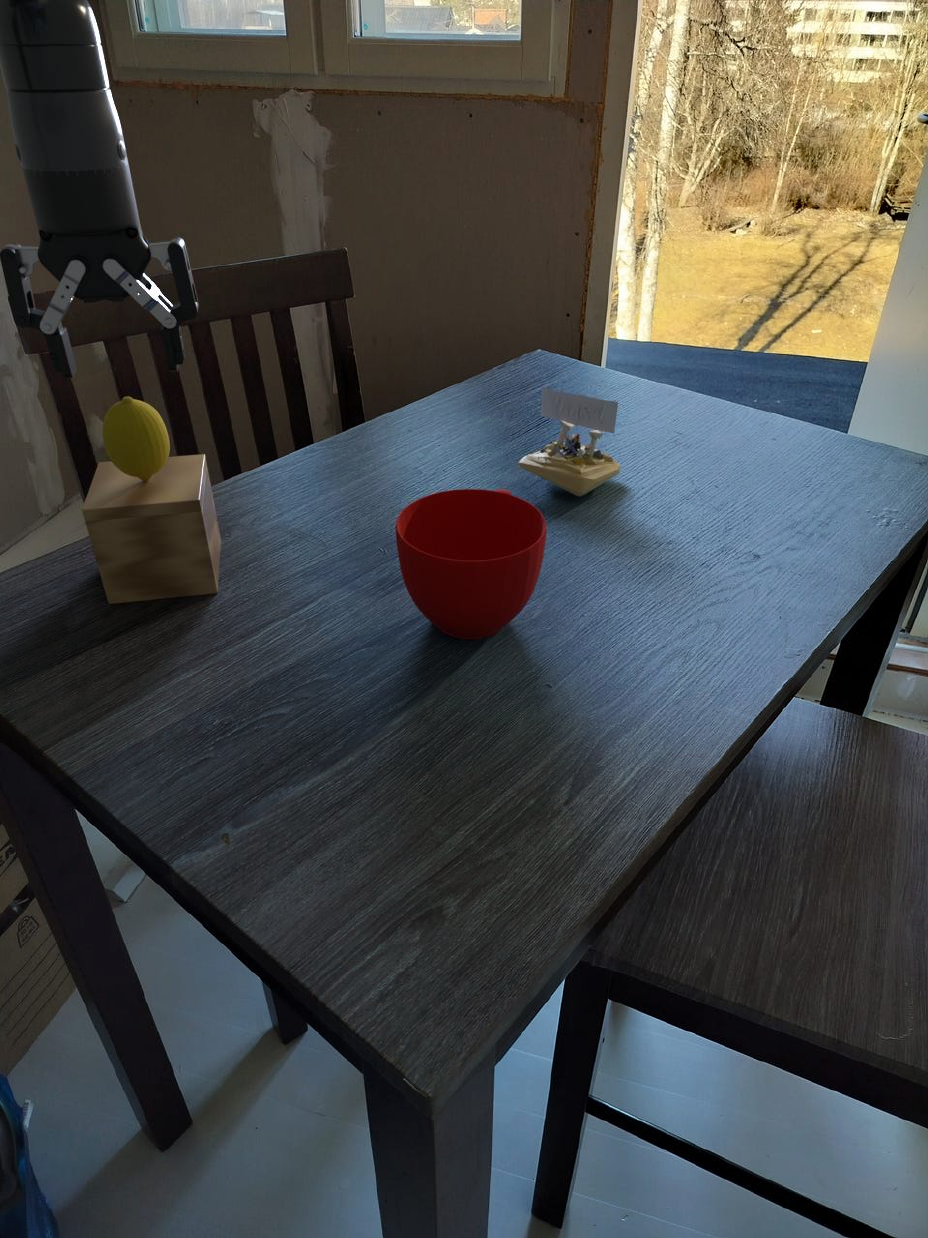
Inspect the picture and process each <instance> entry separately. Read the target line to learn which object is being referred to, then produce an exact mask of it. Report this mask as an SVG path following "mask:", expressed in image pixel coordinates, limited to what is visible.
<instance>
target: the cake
mask: <svg viewBox="0 0 928 1238" xmlns="http://www.w3.org/2000/svg"><path fill="white" fill-rule="evenodd" d="M540 404H541V405H540V417H542V418H543V417H544V418H548V419H552V420H559V421H561V422H560V424H559V427H561V431H560V432H559V433H560V434H559V436H558V439H557V441H555V440H552V441H550V442H549V444H547V445H545V446H544V447H543V448H541V449H540V450H538V451H536V452H532V453H528V454H526V455H525V456H523V457H522V458H521V459H520V460H519V461H518V463H517V465H518V466H519V468H521V469H522V470H525V471H527V472H529V473H531V474H533V475H535V476H537V477H539V478H541V479H543V480H544V481H547V483H550V484H553V485H554V486H556V487H558V488H560V489H563V490H564V491H566V492H568V493H569V494H572V495H574V496H576V497H583V496H585V495H586V494H588V493H589V492H591V491H593V490H594V489H596V488H598V487H599V486H601V485H602V484H605V483H606V482H608V481H610V480H611V479H613V478H614V477H616V476H617V475H619V474H620V472H621V467H622V466H621V464H620V463H619V462H617V461H616V460H614V458H613V456H611V455H609V454H608V453H605V452H604V451H601V449H599V448H596V445H597V442H598V439H599V440H601V438H602V437H603V432H605V433H610V434H615V429H616V422H617V415H618V408H619V402H618V401H613V400H606V399H601V398H596V397H591V396H587V395H585V394H574V393H569V392H564V391H558V390H554V389H551V388H550V389H549V388H546V387H542V393H541V403H540ZM575 426H578V427H579V426H580V427H583V428H587V429H591V430H589V431H588V435H589V437H590V443H589V442H588V443H587V444H586V445H584V444H582V442H581V439H580V436H581V433H576V434H571V436H569V435H568V433H569V431H572V430H573V429H574V428H575ZM436 446H438V447H441V445H440V444H439V443H438V444H437V445H436Z"/></svg>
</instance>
